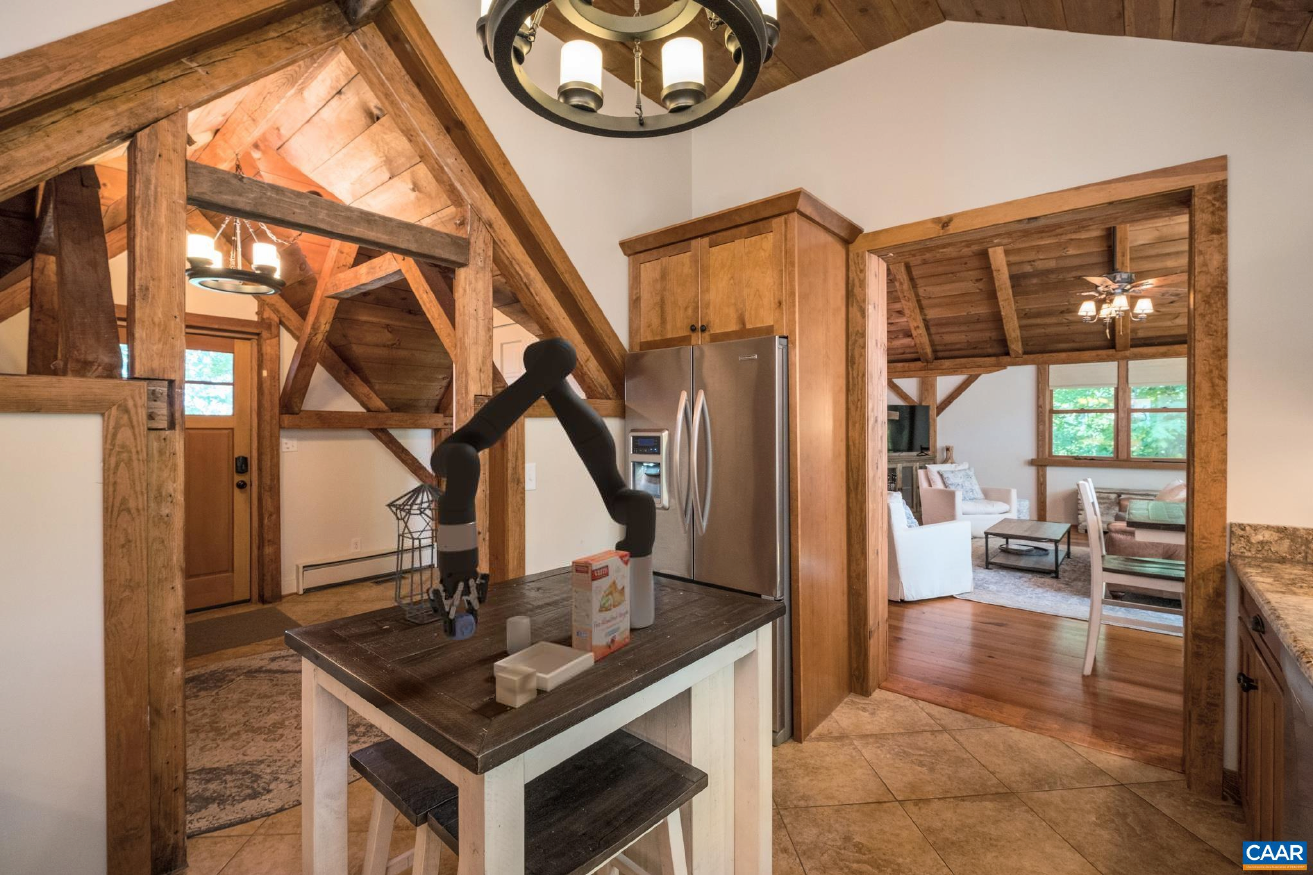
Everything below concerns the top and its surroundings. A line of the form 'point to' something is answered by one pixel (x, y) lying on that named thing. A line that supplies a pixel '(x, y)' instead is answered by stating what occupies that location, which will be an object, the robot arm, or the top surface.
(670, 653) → the top surface
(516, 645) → the grey rounded cylinder
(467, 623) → the decorative dice
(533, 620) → the top surface
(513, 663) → the tray
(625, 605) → the cracker box
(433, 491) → the geometric lantern
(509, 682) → the wooden block
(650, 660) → the top surface
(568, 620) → the top surface
